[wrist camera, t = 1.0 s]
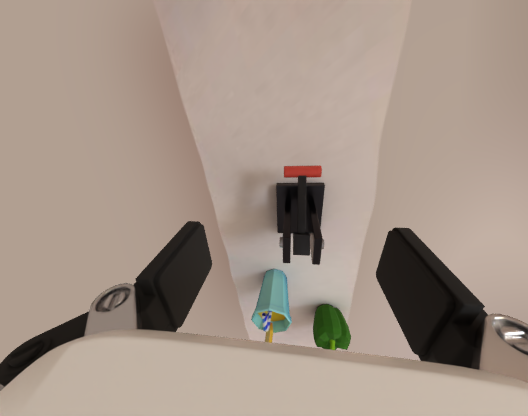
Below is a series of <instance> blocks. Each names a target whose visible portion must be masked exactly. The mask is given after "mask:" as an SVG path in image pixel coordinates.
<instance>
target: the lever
mask: <svg viewBox="0 0 528 416" xmlns="http://www.w3.org/2000/svg"><path fill="white" fill-rule="evenodd" d="M321 173H322V168H321V166H284V177H298V218H297V232H293V255H310V234H309V232H306V177H321Z"/></svg>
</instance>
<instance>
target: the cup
mask: <svg viewBox="0 0 528 416" xmlns="http://www.w3.org/2000/svg"><path fill="white" fill-rule="evenodd" d="M251 320H252V321H253V322H254V324H255V325H256V326H257V327H258V328H259V329H261V330H264V331H265V332H266V338H265V342H269V343H272V337H273V333H275V332H281V331H286V330H287V328H288V327H289V326H290V324H291V323H292V322H291V317H290V315H289V303H288V290H287V277H286V276H285V274H284V273H283V271H280V270H276V269H272V270H269V271H266V274H265V276H264V279H263V283H262V287H261V291H260V294H259V298H258V302H257V306H256V309H255V311H254V313H253V316H252V319H251Z"/></svg>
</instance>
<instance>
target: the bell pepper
mask: <svg viewBox="0 0 528 416" xmlns="http://www.w3.org/2000/svg"><path fill="white" fill-rule="evenodd" d="M313 334H314V340H315V343H316V345H317V347H322V348H323V349H329V350H336V349H337V348H341V349H346V350H347V348H348V346H349V344H350V339H351V335H350V332H349V328H348V325H347V323H346V321H345V319H344V317H343V315H342V313H341V312H340V310H339V309H337V308H333V306H331V305H328V304H324V305H321V306H319V307H318V308H317V310H316V312H315V318H314V325H313Z"/></svg>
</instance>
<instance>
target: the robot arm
mask: <svg viewBox="0 0 528 416" xmlns="http://www.w3.org/2000/svg"><path fill="white" fill-rule="evenodd" d="M211 266H212V260H211V256H210V251H209V247H208V243H207V238H206V234H205V230H204V226H203V225H202V224H201V223H200V222H193V221H192V222H191V221H189V222H187V223H186V224H185V225H184V226H183V227H182V228H181V230H180V231H179V232H178V233H177V234H176V235H175V236H174V237H173V238H172V239H171V240H170V242H169V243H168V244H167V245H166V246H165V247H164V248H163V249H162V250H161V251H160V253H159V254H158V255H157V256H156V257H155V258H154V259H153V260H152V261H151V262H150V263H149V265H148V266H147V267H146V268H145V269H144V270H143V271H142V272H141V273H140V275H139V276H138V277H137V278H136V281H137V282H136V283H135V284H134V285H132V284H128V283H124V284H119V285H115V286H113V287H111V288H109V289H107V290H106V291H104V292H103V293H101V294H100V295H99V296H98V297H97V298H96V299H95V300H94V301H93V303H92V305H91V307H90V310H89V312H87V313H85V314H82V315H80V316H78V317H76V318H74V319H72V320H70V321H68V322H65V323H64V324H61V325H59V326H57V327H55V328H53V329H51V330H48V331H46V332H44V333H42V334H40V335H38V336H36V337H34V338H32V339H30V340H28V341H26V342H25V343H23V344H22V345H20V346H19V347H17V348H16V349H15V350H14V351H12V352H11V353H10V354H9V355H8V356H7V357H6V358H5V359H4V360H3V362H2V363H1V364H0V416H528V324H526V323H524V322H522V321H520V320H518V319H515V318H513V317H510V316H506V315H502V314H490V315H488V314H487V313H486V312H485V311H484V310H483V308H484V307H485V306H484V305H483V304H482V303H481V302H480V301H479V300H478V299H477V298H476V297H475V296H474V295H473V294H472V293H471V292H470V291H469V289H468V288H467V287H466V286H465V285H464V284H463V283H462V282H461V281H460V280H459V279H458V278H457V277H456V276H455V275H454V274H453V273H452V272H451V271H450V270H449V269H448V268H447V267H446V266H445V265H444V264H443V262H442V261H441V260H440V259H439V258H438V257H437V256H436V255H435V254H434V253H433V252H432V251H431V250H430V249H429V248H428V247H427V246H426V245H425V244H424V243H423V242H422V241H421V240H420V239H419V238H418V237H417V235H415V233H413V231H412V230H411V229H409V228H394V229H393V230H392V231H389V232H388V235H387V238H386V242H385V245H384V248H383V251H382V255H381V258H380V261H379V265H378V268H377V271H376V277H377V280H378V282H379V284H380V286H381V288H382V290H383V292H384V294H385V296H386V299H387V300H388V303H389V304H390V307H391V309H392V311H393V313H394V315H395V317H396V319H397V321H398V323H399V325H400V327H401V329H402V331H403V333H404V335H405V337H406V339H407V341H408V343H409V345H410V347H411V349H412V351H413V352H414V353H415V354H417V355H418V356H419V358H420V360H421V361H418V360H410V359H403V358H394V357H386V356H378V355H369V354H362V353H354V352H345V351H337V350H329V349H321V348H312V347H304V346H295V345H287V344H278V343H269V342H261V341H252V340H243V339H234V338H225V337H216V336H207V335H198V334H189V333H179V332H176V331H177V329H178V328H179V327H181V326H182V324H183V322H184V321H185V319H186V317H187V315H188V313H189V311H190V309H191V307H192V305H193V303H194V301H195V299H196V297H197V295H198V293H199V291H200V289H201V287H202V285H203V283H204V281H205V279H206V277H207V275H208V273H209V271H210V269H211Z"/></svg>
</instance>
